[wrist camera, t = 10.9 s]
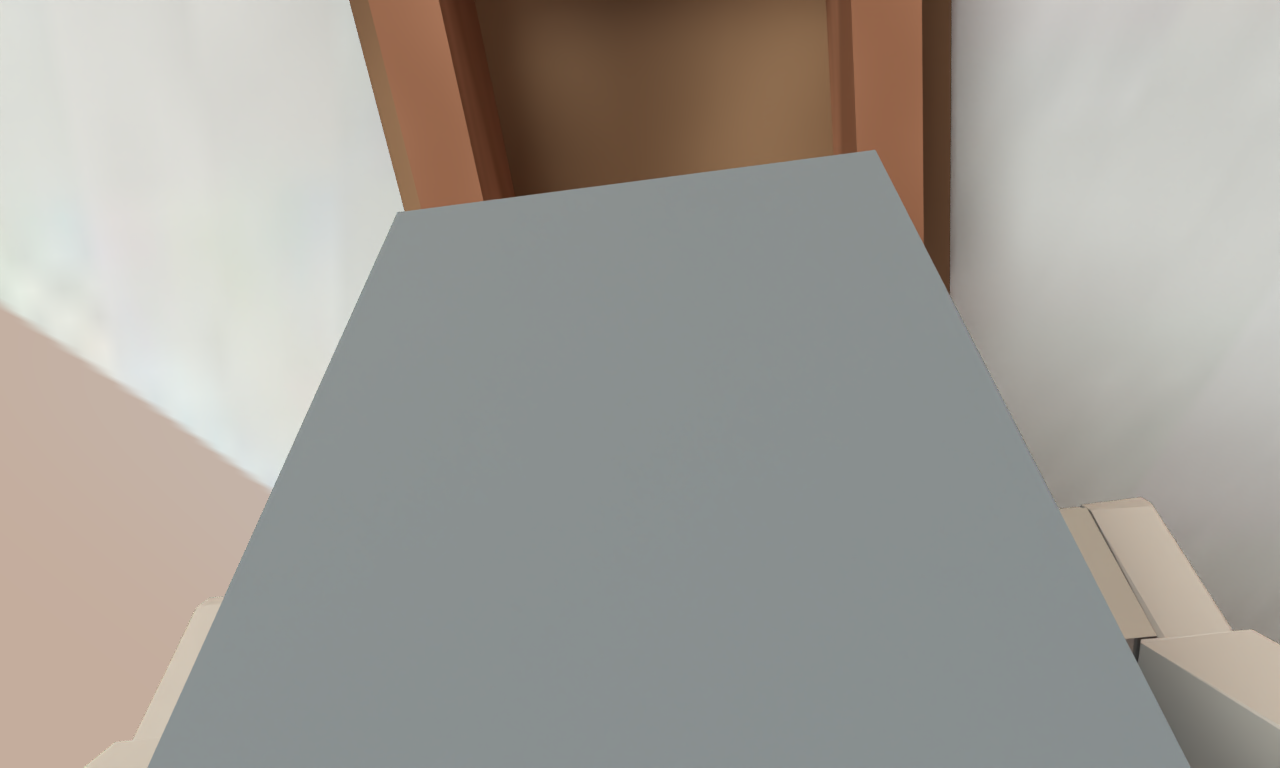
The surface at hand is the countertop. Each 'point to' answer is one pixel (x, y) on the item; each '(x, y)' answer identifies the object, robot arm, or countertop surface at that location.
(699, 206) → the square peg
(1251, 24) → the countertop surface
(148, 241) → the countertop surface
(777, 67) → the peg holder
